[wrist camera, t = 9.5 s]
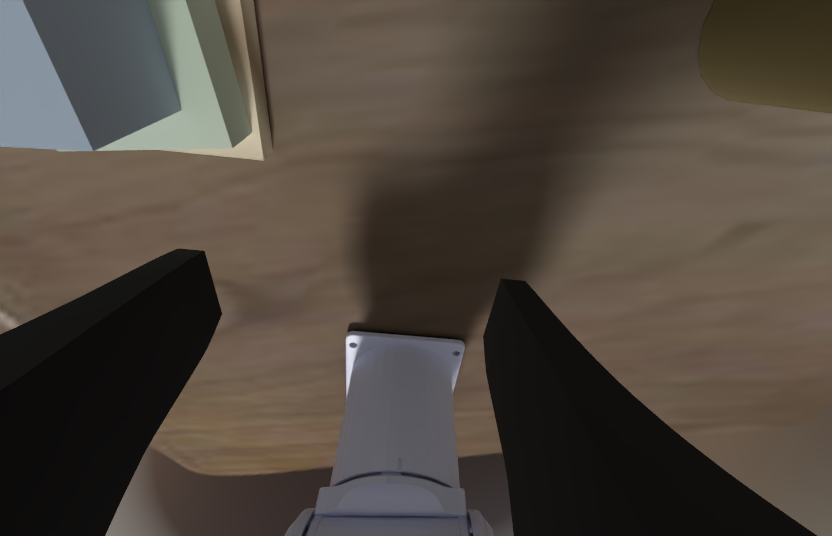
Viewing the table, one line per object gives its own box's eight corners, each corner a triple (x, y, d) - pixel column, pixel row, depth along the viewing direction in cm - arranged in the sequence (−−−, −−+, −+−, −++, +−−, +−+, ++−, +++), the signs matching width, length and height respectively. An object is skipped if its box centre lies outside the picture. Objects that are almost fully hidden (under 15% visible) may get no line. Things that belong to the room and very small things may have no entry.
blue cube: (181, 110, 14) (93, 151, 10) (56, 103, 14) (-78, 142, 10) (132, -51, 11) (-13, -76, 7) (-24, -61, 11) (-249, -91, 7)
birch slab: (277, 145, 18) (263, 160, 17) (89, 126, 18) (56, 139, 16) (246, -109, 13) (222, -124, 11) (-23, -146, 13) (-88, -166, 11)
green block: (251, 132, 16) (232, 148, 14) (94, 135, 16) (57, 151, 15) (189, -91, 12) (152, -104, 10) (-22, -83, 12) (-91, -95, 10)
